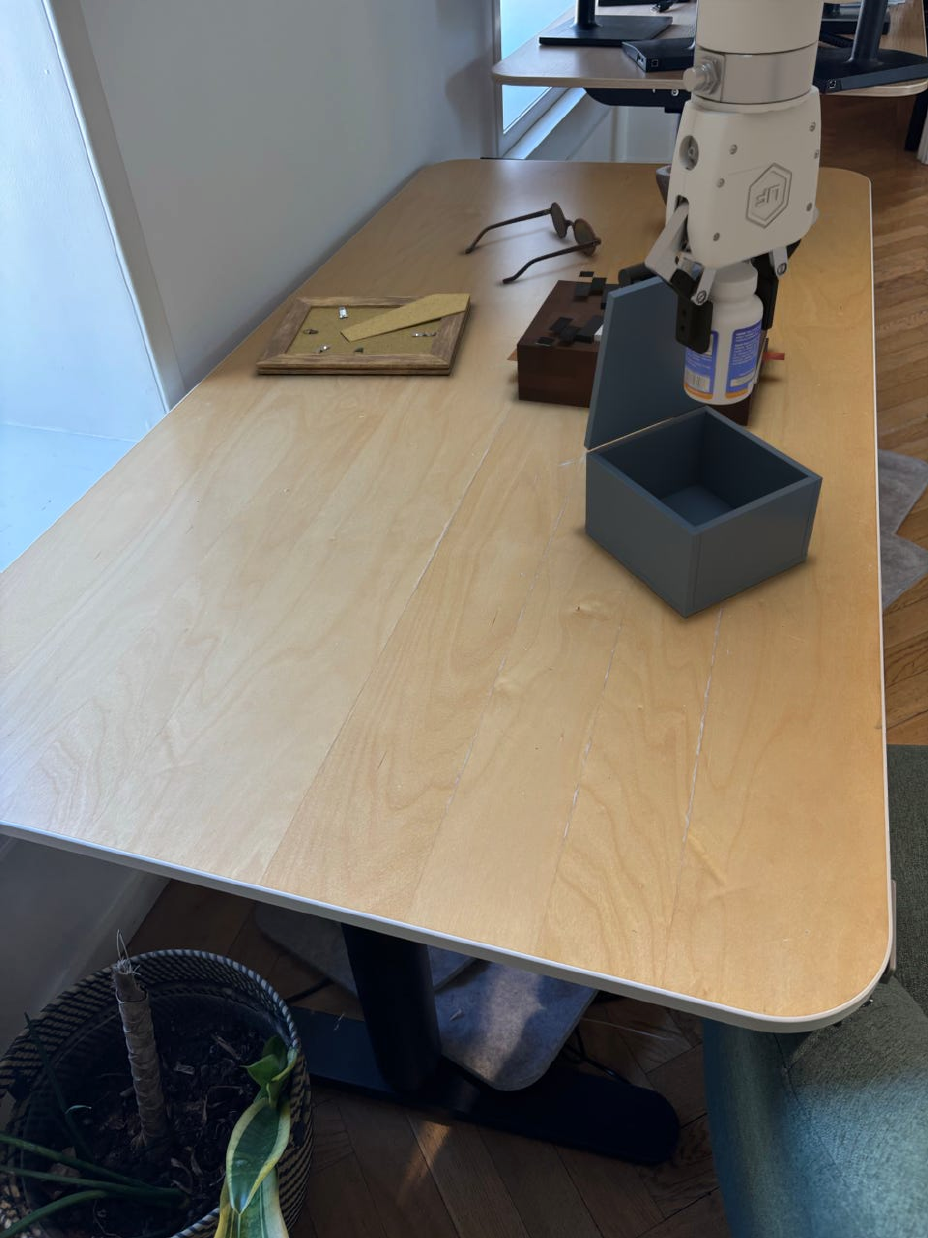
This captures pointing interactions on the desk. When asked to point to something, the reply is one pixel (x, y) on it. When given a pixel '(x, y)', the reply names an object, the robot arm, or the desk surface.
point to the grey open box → (699, 508)
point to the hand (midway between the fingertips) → (723, 332)
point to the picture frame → (368, 335)
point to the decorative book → (587, 349)
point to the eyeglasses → (580, 228)
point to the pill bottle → (728, 340)
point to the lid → (638, 359)
